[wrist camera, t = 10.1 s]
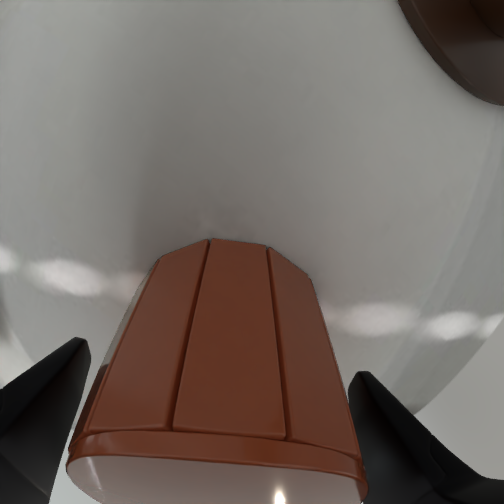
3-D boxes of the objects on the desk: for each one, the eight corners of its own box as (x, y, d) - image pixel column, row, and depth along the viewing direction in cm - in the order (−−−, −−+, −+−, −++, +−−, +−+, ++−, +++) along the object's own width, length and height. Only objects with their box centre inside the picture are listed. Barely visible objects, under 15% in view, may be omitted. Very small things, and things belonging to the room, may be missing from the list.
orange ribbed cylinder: (342, 254, 10) (433, 446, 4) (295, 387, 13) (313, 533, 7) (133, 227, 9) (13, 407, 3) (143, 370, 13) (104, 514, 6)
